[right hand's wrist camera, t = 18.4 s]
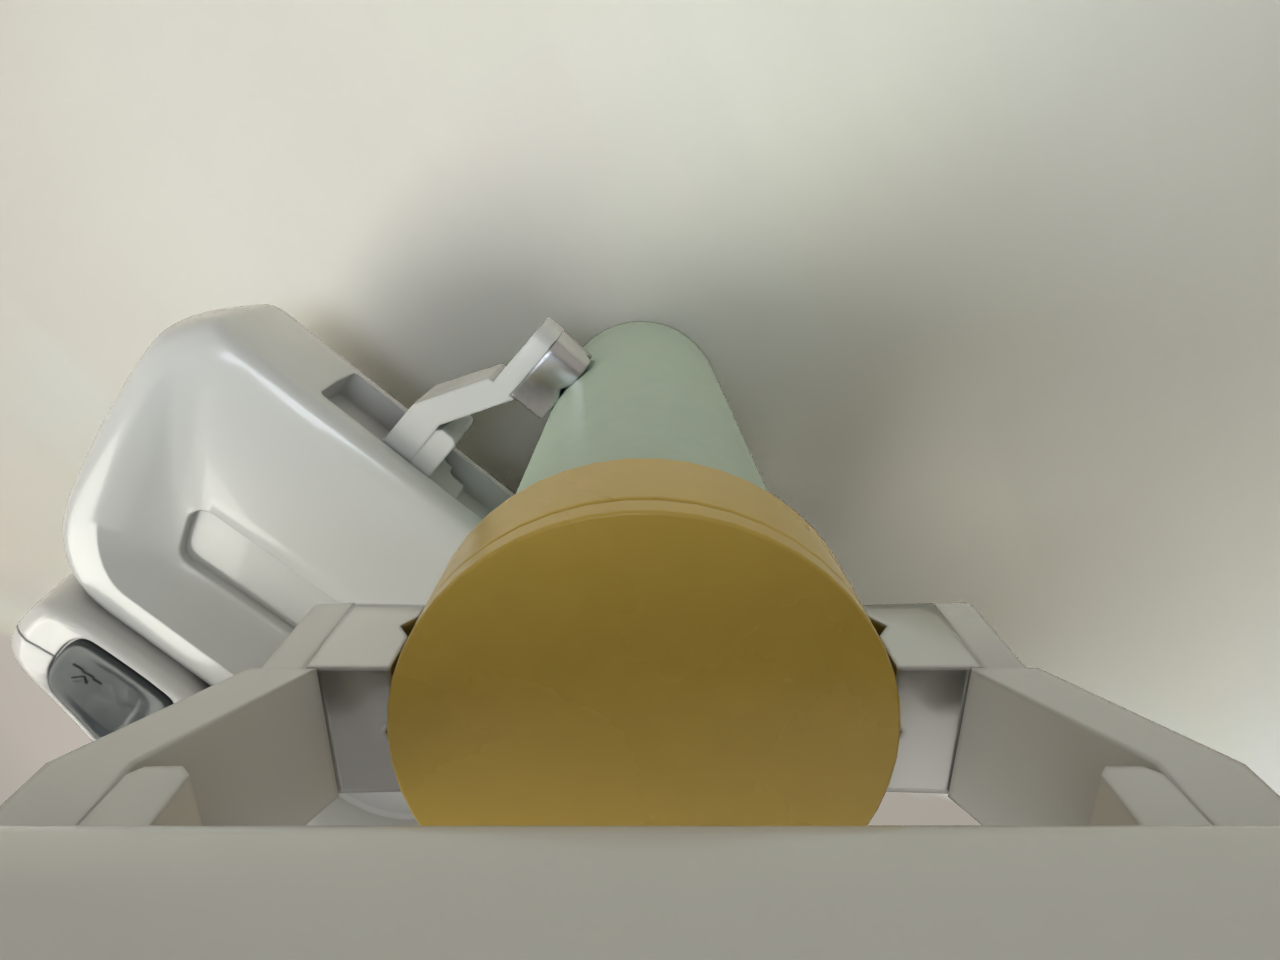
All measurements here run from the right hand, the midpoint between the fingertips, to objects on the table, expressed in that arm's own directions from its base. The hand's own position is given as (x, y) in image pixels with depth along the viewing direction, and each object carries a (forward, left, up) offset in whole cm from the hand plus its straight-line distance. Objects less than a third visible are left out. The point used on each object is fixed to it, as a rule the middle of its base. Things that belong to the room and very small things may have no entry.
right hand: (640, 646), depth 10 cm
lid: (0, 0, +2) cm, 2 cm away
